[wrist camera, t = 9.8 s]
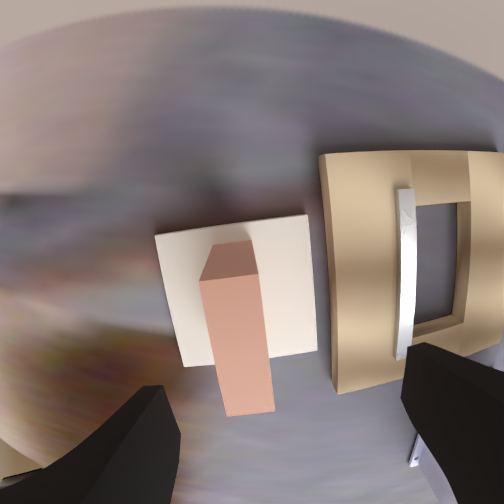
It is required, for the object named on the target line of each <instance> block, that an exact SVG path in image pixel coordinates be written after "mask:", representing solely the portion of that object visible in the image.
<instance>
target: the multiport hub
mask: <svg viewBox="0 0 504 504" xmlns="http://www.w3.org/2000/svg"><path fill="white" fill-rule="evenodd" d="M41 470H43V468H39V469H35V470H32V471H28V472H24V473H21V474H17V475H12V476H8V477H4V478H3V480H2V481H1V483H0V489H2V488H5V487H7V486H10V485H12V484H15V483H17V482H19V481H21V480H23V479H25V478H27V477H29V476H31V475H33V474H35V473H37V472H39V471H41Z"/></svg>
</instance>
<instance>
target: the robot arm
mask: <svg viewBox="0 0 504 504" xmlns="http://www.w3.org/2000/svg"><path fill="white" fill-rule="evenodd" d="M401 400H402V403H403V405H404V407H405V409H406V412H407V414H408V416H409V418H410V420H411V422H412V424H413V426H414V427H415V429H416V430H417V432H418V435H417V439H416V442H415V445H414V448H413V452H412V455H411V458H410V461H409V464H408V465H409V466H410V467H414V466H417V465H419V467H420V468H421V470H422V472H423V474H424V475H425V477H426V479H427V481H428V483H429V484H430V486H431V488H432V490H433V492H434V493H435V495H436V497H437V499H438V501H439V502H440V504H504V372H503V371H500V370H496V369H494V368H491V367H488V366H485V365H483V364H480V363H477V362H475V361H472V360H470V359H467V358H465V357H462V356H460V355H458V354H455V353H453V352H450V351H448V350H445V349H443V348H440V347H438V346H435V345H432V344H429V343H426V342H422V343H419V344H415V345H412V346H408V347H407V355H406V363H405V371H404V378H403V385H402V392H401ZM180 439H181V433H180V430H179V428H178V425H177V423H176V420H175V417H174V415H173V412H172V409H171V407H170V404H169V401H168V398H167V396H166V393H165V390H164V387H163V385H156V386H143V387H142V388H141V389H139V390H138V391H137V392H136V393H135V394H134V395H133V396H132V397H131V398H130V399H129V400H128V401H127V402H126V403H125V404H124V405H123V406H122V407H121V408H120V409H119V410H117V411H116V412H115V413H114V414H113V415H112V416H111V417H110V418H109V419H108V420H107V421H106V422H105V423H104V424H103V425H101V426H100V427H99V428H98V429H97V430H96V431H95V432H93V433H92V434H91V435H90V436H89V437H87V438H86V439H85V440H84V441H83V442H81V443H80V444H79V445H78V446H77V447H75V448H74V449H73V450H71V451H70V452H69V453H67V454H66V455H64V456H63V457H62V458H60V459H59V460H57V461H55V462H54V463H52V464H51V465H49V466H48V467H46V468H44V469H43V470H41V471H39V472H37V473H35V474H33V475H31V476H29V477H27V478H25V479H23V480H21V481H19V482H17V483H15V484H12V485H10V486H7V487H5V488H2V489H0V504H170V502H171V497H172V492H173V488H174V483H175V478H176V474H177V469H178V464H179V454H180Z"/></svg>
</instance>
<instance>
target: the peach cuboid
mask: <svg viewBox="0 0 504 504" xmlns="http://www.w3.org/2000/svg"><path fill="white" fill-rule="evenodd" d="M199 286H200V292H201V297H202V302H203V308H204V313H205V318H206V323H207V328H208V333H209V338H210V343H211V348H212V352H213V357H214V362H215V366H216V371H217V376H218V380H219V384H220V389H221V393H222V397H223V402H224V406H225V410H226V414H227V416H237V415H247V414H256V413H264V412H272V411H275V405H274V396H273V388H272V380H271V371H270V363H269V355H268V346H267V338H266V330H265V322H264V313H263V305H262V297H261V289H260V281H259V273H258V268H257V263H256V259H255V254H254V249H253V244H252V240H247V241H239V242H231V243H224V244H216V245H213V246H212V249H211V251H210V254H209V256H208V259H207V261H206V264H205V266H204V269H203V271H202V274H201V277H200V279H199Z"/></svg>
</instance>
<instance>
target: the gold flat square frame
mask: <svg viewBox="0 0 504 504" xmlns="http://www.w3.org/2000/svg"><path fill="white" fill-rule="evenodd" d="M318 163H319V172H320V180H321V190H322V199H323V209H324V220H325V232H326V244H327V258H328V274H329V292H330V315H331V353H332V383H333V385H334V388H335V390H336V392H337V395H339V394H343V393H348V392H352V391H356V390H360V389H365V388H369V387H373V386H376V385H380V384H384V383H388V382H391V381H395V380H398V379H402V378H404V371H405V363H406V355H407V347H408V346H412V345H415V344H419V343H422V342H426V343H429V344H432V345H435V346H438V347H440V348H443V349H445V350H448V351H450V352H453V353H455V354H458V355H460V356H462V357H466V356H469V355H471V354H474V353H476V352H479V351H481V350H483V349H486V348H488V347H491V346H493V345H495V344H497V343H500V341H501V337H502V333H503V328H504V153H500V152H482V151H455V150H395V151H366V152H346V153H331V154H323V155H319V156H318ZM453 202H457V261H456V278H455V290H454V301H453V310H452V315H448V316H445V317H441V318H438V319H434V320H431V321H427V322H423V323H420V324H416V325H413V324H414V311H415V296H416V269H417V230H416V206H420V205H431V204H442V203H453Z"/></svg>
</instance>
